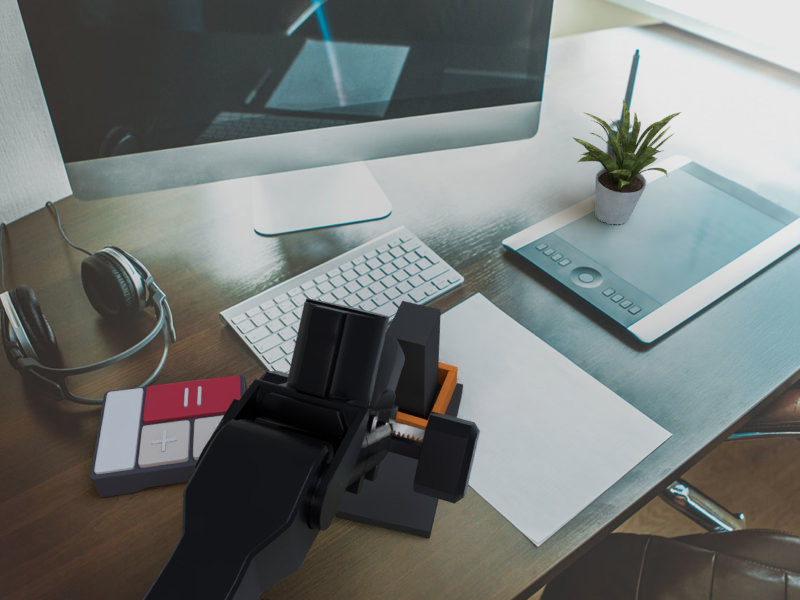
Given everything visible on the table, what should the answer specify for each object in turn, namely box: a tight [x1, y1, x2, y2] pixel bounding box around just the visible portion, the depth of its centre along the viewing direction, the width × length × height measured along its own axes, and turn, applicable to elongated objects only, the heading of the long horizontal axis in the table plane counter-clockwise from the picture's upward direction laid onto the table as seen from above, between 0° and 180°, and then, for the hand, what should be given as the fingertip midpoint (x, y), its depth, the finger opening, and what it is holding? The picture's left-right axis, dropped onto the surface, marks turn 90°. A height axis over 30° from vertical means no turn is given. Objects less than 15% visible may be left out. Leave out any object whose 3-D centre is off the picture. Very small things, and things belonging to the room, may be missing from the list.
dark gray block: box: [386, 300, 442, 420], centre depth 67 cm, size 5×4×13 cm
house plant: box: [572, 99, 682, 226], centre depth 93 cm, size 14×14×16 cm
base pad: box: [335, 361, 464, 539], centre depth 68 cm, size 19×11×4 cm, turn 166°
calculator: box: [89, 374, 248, 498], centre depth 69 cm, size 11×4×15 cm
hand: (386, 419), depth 61 cm, fingers open, 9 cm apart
